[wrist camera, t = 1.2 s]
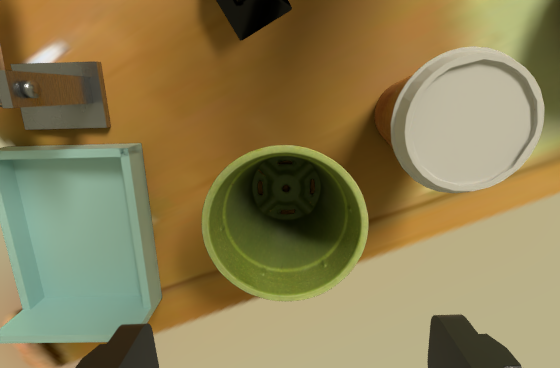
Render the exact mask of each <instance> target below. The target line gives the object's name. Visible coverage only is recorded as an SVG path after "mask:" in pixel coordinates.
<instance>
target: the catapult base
mask: <svg viewBox="0 0 560 368" xmlns="http://www.w3.org/2000/svg"><path fill="white" fill-rule="evenodd" d="M11 68H12V71H10V70H0V98H1V102H2V105H0V107H3V108H20V109H21V113H22V118H23V122H24V127H25V130H32V129H71V128H107V127H111V124H110V118H109V111H108V105H107V98H106V92H105V86H104V79H103V73H102V66H101V62H68V63H35V64H11Z"/></svg>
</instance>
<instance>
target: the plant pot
mask: <svg viewBox="0 0 560 368" xmlns="http://www.w3.org/2000/svg"><path fill="white" fill-rule="evenodd" d="M282 161H292V162H293V163H292V164H280V165H279V164H278V162H282ZM258 170H260V171H261V172H262V173H263V174H264V175H265V176H266V177H265V176H264V175H262V174H261V173H260V172H259V171H258ZM312 179H313V180H314V182H315V191H314V194H311V193H310V184H311V182H310V181H311V180H312ZM259 181H262V183H263V185H262V189H263V195H260V194H259V193H258V182H259ZM284 185H288V186H289V187H290V190H289V191H288V192H284V191H283V186H284ZM310 202H311V203H310ZM293 209H295V213H293V214H281V210H293ZM202 234H203V239H204V243H205V247H206V249H207V252H208V254H209V256H210V258H211V260H212V261H213V263H214V264H215V266H216V267H217V269H218V270H219V271H220V272H221V273H222V275H223V276H224V277H226V278H227V279H228V280H229V281H230V282H231V283H233V284H234V285H235V286H237V287H238V288H240V289H242V290H243V291H245V292H247V293H249V294H252V295H254V296H257V297H261V298H264V299H268V300H274V301H298V300H304V299H308V298H312V297H315V296H318V295H320V294H322V293H324V292H326V291H328V290H330V289H331V288H332V287H334V286H336V285H337V284H338V283H339V282H341V281H342V280H343V279H344V278H345V277H346V276H347V275H348V274H349V273H350V272H351V271H352V269H353V268H354V267H355V265H356V264H357V262H358V260H359V259H360V257H361V255H362V253H363V250H364V248H365V244H366V241H367V235H368V212H367V208H366V204H365V201H364V198H363V195H362V193H361V191H360V189H359V187H358V185H357V184H356V182H355V181H354V179H353V178H352V177H351V176H350V174H349V173H348V172H347V171H346V170H345V169H344V168H343V167H342V166H341V165H339V164H338V163H337V162H335V161H334V160H332V159H331V158H329V157H328V156H326V155H324V154H322V153H320V152H317V151H315V150H312V149H309V148H305V147H300V146H293V145H276V146H269V147H264V148H260V149H257V150H254V151H251V152H249V153H247V154H245V155H243V156H241V157H239V158H238V159H236V160H235V161H233V162H232V163H231V164H229V165H228V166H227V167H226V168H225V169H224V170H223V171H222V172H221V173H220V174H219V175H218V177H217V178H216V179H215V181H214V182H213V184H212V186H211V188H210V190H209V192H208V194H207V197H206V199H205V202H204V206H203V211H202Z"/></svg>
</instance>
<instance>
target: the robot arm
mask: <svg viewBox="0 0 560 368" xmlns="http://www.w3.org/2000/svg"><path fill="white" fill-rule="evenodd" d="M76 368H159V364H158V359H157V353H156V348H155V343H154V337H153V332H152V328H151V326H150V324H122V325H120V326H119V327H118V329H117V330H116V331H115V333H114V334H113V336H112V337H111V339H110V340H109V341H108V343H107V344H100V345H99V346H97V347H96V348H95V349H94V350H92V351H91V352H90V353H89V354H87V355H86V356H85V357H84V358H82V360H81V361H80V362H79V364H78V365H77V366H76ZM428 368H522V367H521V365H520V363H519V362H518V361H517V360H516V359H515V358H514V356H513V355H512V354H511V353H510V352H509V350H508V349H507V348H506V347H505V346H503V345H502V344H500V343H499V342H497V341H496V340H495V339H493V338H492V337H490V336H489V335H488V334H478V333H477V332H476V330H475V329H474V328H473V326H472V325H471V324H470V323H469V321H468V320H467V319H466V318H465V317H464V316H463V315H434V316H433V317H432V319H431V325H430V338H429V349H428Z"/></svg>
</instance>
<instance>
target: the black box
mask: <svg viewBox="0 0 560 368" xmlns="http://www.w3.org/2000/svg"><path fill="white" fill-rule="evenodd" d="M216 1H217V2H218V4H219V6H220V7H221V9H222V11H223V12H224V14H225V16H226V18H227V19H228V21H229V23H230V24H231V26H232V28H233V29H234V31H235V33H236V34H237V36H238V38H239V39H240V40H243V39H245V38H247V37H248V36H250V35H252V34H253V33H255V32H256V31H258V30H260V29H261V28H263V27H264V26H266V25H268V24H269V23H271V22H272V21H274V20H276V19H277V18H279V17H281V16H282V15H284V14H285V13H287V12H289V11H290V10H291V9H292V7H291V5H290V3H289V1H288V0H216Z"/></svg>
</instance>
